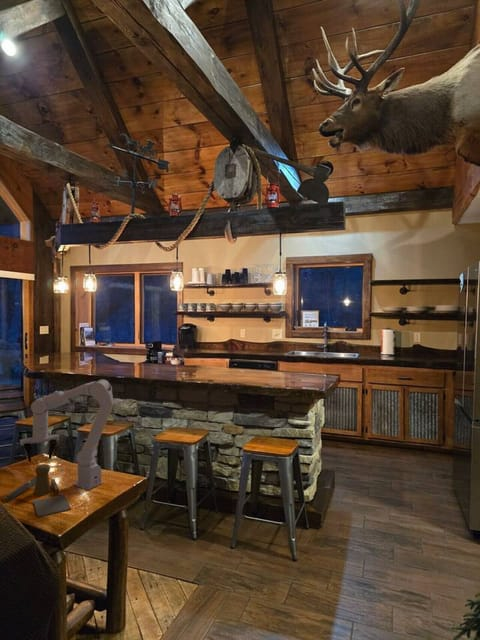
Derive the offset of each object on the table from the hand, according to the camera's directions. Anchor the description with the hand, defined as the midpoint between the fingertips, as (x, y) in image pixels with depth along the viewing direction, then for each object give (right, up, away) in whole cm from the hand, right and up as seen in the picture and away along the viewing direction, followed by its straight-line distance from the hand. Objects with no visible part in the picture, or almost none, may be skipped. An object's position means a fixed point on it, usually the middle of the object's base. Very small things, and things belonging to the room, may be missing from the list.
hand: (39, 459), depth 171 cm
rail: (+9, -11, -5) cm, 15 cm away
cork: (+5, -11, -8) cm, 14 cm away
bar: (-3, -10, -7) cm, 12 cm away
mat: (+14, -11, -18) cm, 25 cm away
